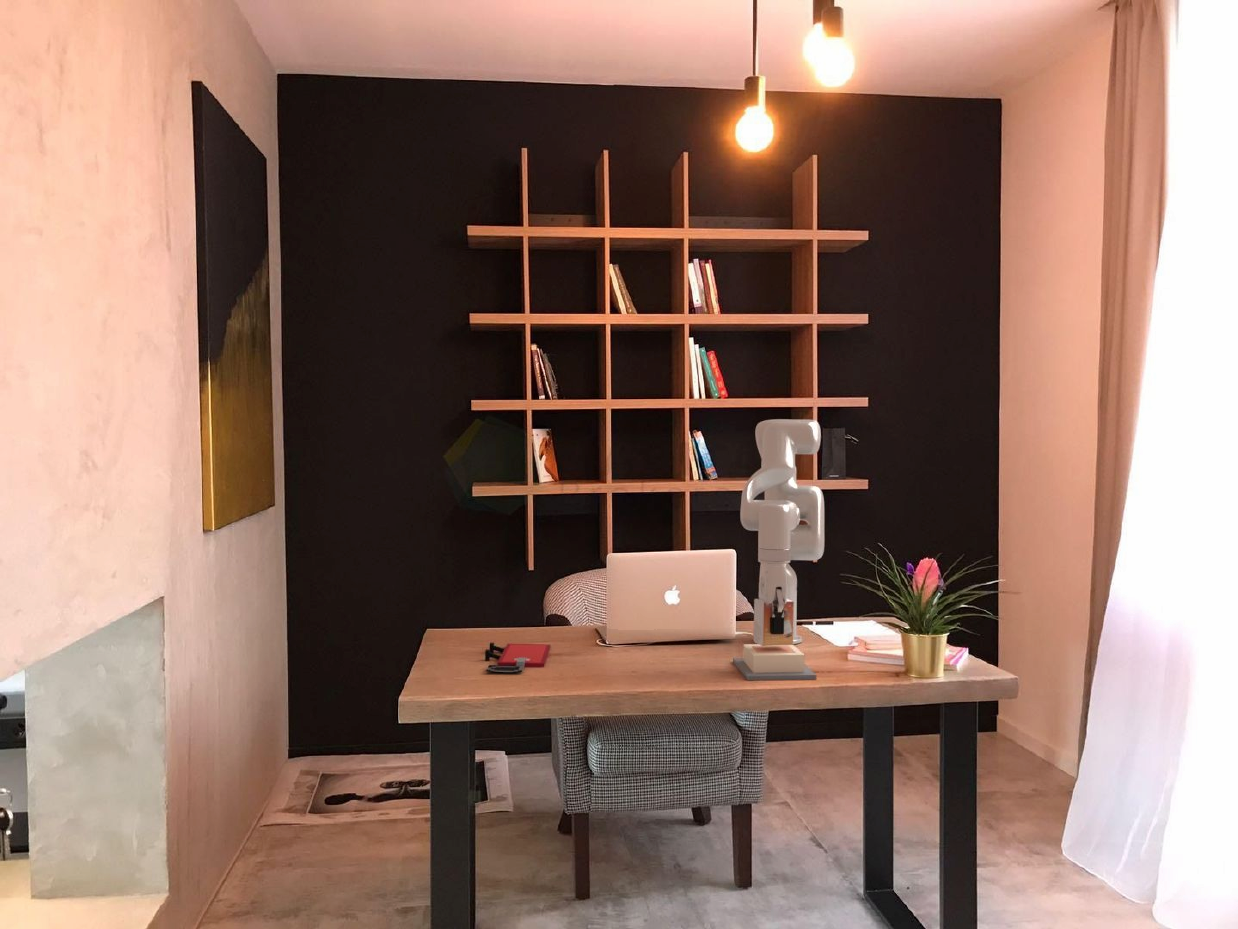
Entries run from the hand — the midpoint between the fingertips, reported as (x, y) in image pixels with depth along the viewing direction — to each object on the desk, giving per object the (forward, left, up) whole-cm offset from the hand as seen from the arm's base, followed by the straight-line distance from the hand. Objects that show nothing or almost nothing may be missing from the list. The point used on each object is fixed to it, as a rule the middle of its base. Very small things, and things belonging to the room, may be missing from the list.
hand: (773, 630), depth 240 cm
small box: (0, 0, -3) cm, 3 cm away
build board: (0, 0, -10) cm, 10 cm away
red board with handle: (-14, -61, -10) cm, 64 cm away
